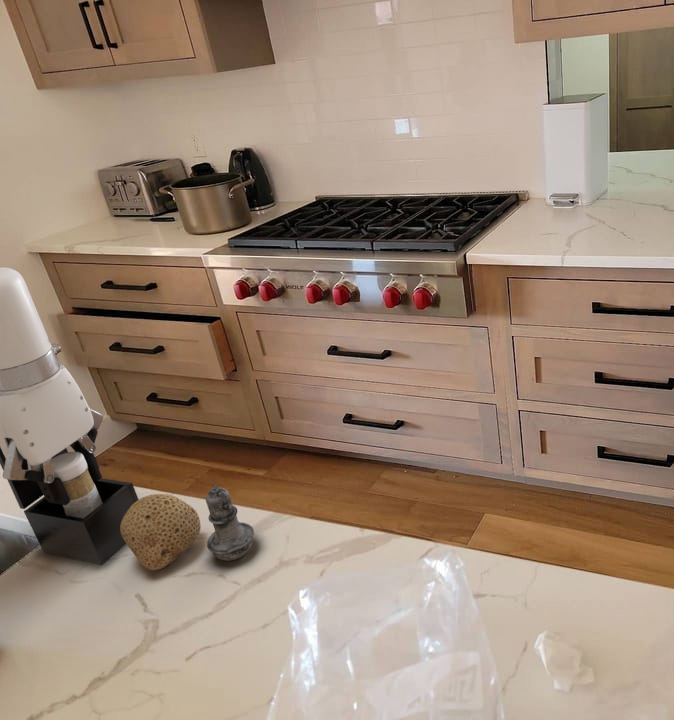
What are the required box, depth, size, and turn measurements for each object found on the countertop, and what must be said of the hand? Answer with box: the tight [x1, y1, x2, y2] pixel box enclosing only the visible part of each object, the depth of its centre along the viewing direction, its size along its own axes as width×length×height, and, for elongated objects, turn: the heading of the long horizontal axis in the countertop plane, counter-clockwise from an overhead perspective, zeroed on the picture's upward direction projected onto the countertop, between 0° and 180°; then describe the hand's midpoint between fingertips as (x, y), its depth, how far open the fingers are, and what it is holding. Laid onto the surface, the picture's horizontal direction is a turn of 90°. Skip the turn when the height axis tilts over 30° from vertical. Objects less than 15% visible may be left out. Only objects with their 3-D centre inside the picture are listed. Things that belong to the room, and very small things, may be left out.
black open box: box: [23, 477, 140, 566], centre depth 93 cm, size 10×8×8 cm
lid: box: [0, 447, 69, 510], centre depth 91 cm, size 11×8×5 cm
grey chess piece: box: [205, 484, 255, 561], centre depth 87 cm, size 6×6×12 cm
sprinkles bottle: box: [52, 451, 102, 518], centre depth 92 cm, size 5×5×13 cm
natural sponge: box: [120, 493, 201, 571], centre depth 88 cm, size 9×9×10 cm
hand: (75, 489), depth 91 cm, fingers closed on sprinkles bottle, 4 cm apart
